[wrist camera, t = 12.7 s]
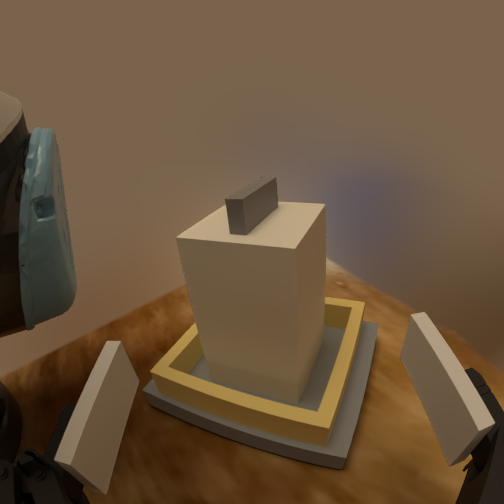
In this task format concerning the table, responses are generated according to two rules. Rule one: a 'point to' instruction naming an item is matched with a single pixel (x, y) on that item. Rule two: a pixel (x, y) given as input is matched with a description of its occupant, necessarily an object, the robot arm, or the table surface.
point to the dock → (270, 409)
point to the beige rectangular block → (258, 289)
